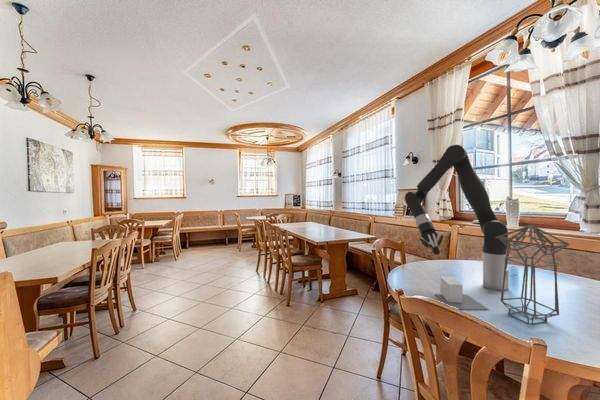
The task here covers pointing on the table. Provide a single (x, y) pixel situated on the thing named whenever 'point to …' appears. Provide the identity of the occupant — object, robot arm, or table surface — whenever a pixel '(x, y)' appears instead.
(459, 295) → the small box
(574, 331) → the table surface
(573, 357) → the table surface
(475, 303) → the mat
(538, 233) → the geometric lantern
